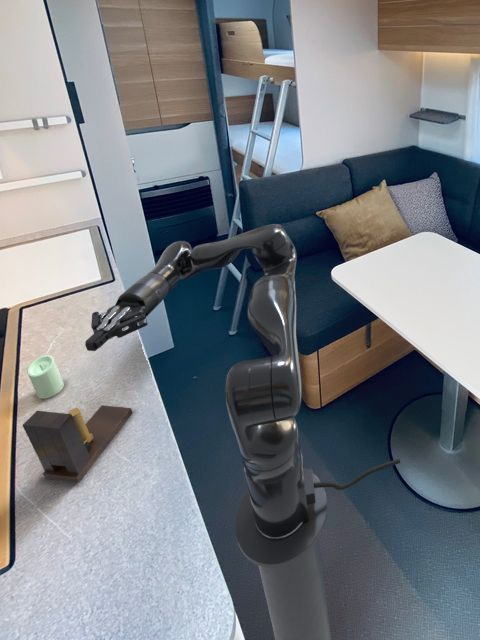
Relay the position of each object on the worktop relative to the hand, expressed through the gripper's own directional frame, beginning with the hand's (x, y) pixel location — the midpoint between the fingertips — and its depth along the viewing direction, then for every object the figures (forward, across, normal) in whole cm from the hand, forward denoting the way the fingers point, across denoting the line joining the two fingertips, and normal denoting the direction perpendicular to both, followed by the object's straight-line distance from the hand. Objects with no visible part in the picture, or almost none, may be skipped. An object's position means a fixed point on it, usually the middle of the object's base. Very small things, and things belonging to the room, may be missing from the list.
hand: (89, 347), depth 82 cm
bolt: (+9, 0, -17) cm, 20 cm away
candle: (-5, +20, -19) cm, 28 cm away
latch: (+6, 0, -19) cm, 20 cm away
